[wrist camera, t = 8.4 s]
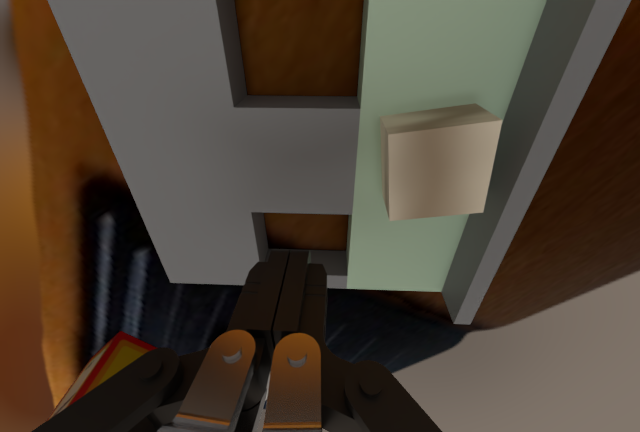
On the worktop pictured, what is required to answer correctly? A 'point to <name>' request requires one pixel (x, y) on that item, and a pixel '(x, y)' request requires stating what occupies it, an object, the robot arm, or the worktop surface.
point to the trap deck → (331, 130)
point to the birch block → (437, 161)
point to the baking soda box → (104, 366)
